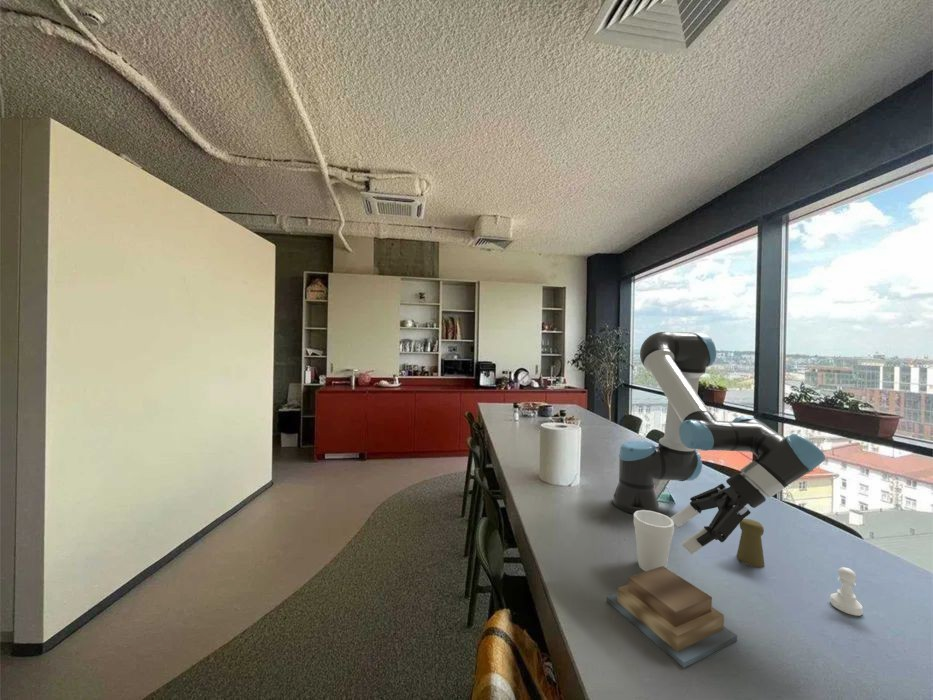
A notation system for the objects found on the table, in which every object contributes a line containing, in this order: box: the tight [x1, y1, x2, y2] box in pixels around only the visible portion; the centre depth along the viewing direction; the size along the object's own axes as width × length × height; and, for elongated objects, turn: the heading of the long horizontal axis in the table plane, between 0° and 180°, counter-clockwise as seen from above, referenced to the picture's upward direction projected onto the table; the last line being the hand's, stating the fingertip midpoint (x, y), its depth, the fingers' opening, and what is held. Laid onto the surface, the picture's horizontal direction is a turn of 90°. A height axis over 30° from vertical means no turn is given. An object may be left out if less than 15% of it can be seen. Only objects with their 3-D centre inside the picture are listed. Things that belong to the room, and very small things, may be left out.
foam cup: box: [633, 510, 675, 572], centre depth 93 cm, size 10×9×13 cm
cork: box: [736, 518, 765, 568], centre depth 97 cm, size 6×6×11 cm
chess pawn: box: [829, 566, 864, 617], centre depth 80 cm, size 5×5×9 cm
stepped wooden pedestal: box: [606, 566, 738, 669], centre depth 75 cm, size 18×16×7 cm
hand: (679, 534), depth 89 cm, fingers open, 13 cm apart
